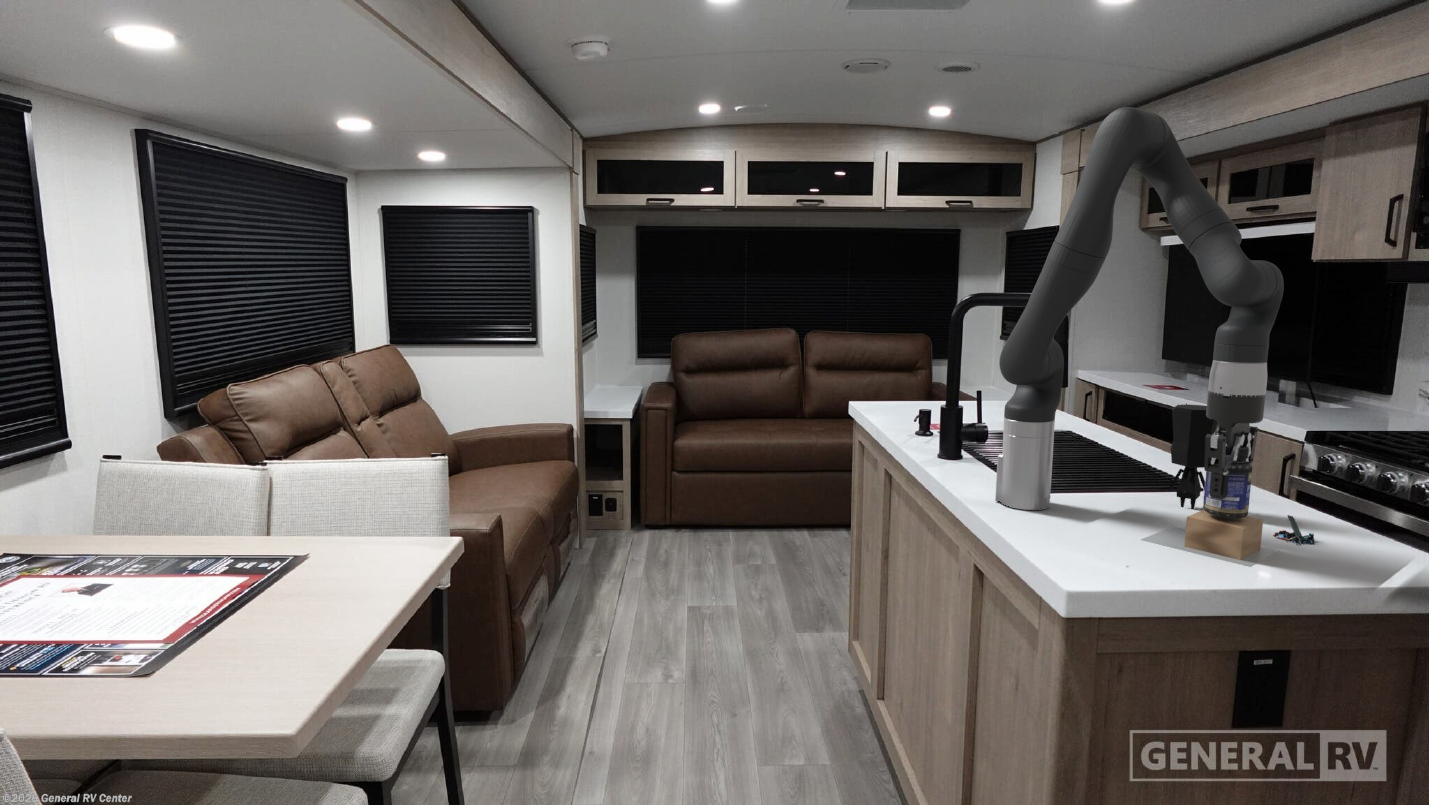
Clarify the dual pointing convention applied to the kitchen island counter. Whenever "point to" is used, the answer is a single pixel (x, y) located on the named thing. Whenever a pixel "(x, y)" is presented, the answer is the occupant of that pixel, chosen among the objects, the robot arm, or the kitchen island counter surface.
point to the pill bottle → (1232, 489)
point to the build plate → (1176, 540)
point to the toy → (1190, 448)
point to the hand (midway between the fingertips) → (1226, 494)
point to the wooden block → (1223, 534)
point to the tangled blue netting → (1295, 534)
